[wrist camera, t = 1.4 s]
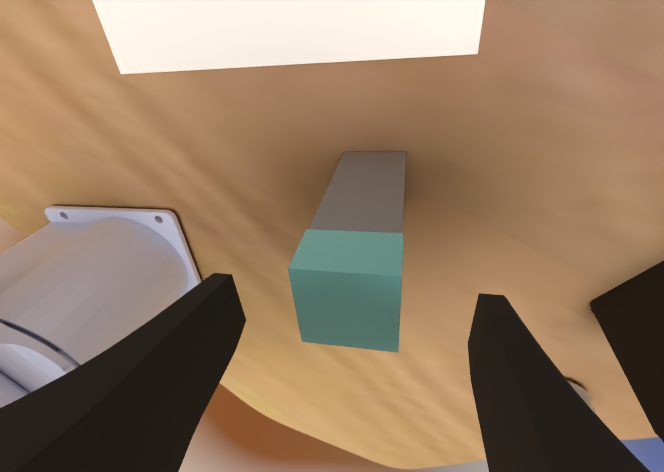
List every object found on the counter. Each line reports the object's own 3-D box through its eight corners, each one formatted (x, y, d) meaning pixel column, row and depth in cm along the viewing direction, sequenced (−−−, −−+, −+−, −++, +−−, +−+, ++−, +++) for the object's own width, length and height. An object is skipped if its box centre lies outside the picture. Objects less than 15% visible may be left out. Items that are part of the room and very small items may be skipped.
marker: (345, 206, 19) (301, 341, 11) (342, 150, 17) (288, 268, 10) (404, 207, 18) (398, 352, 11) (407, 150, 16) (402, 276, 9)
